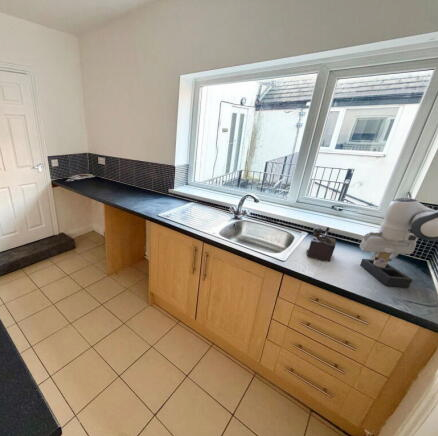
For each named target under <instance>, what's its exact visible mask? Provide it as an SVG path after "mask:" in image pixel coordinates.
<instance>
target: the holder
mask: <svg viewBox="0 0 438 436" xmlns="http://www.w3.org/2000/svg"><path fill="white" fill-rule="evenodd" d="M373 262H374V260H372V259H371V258H361V261H360V264H359V266H360V267H361V268H362V269H363V270H365V271H366V272H368V274H370V275H371V276H372V277H374V278H375V279H377V281H379V282H380V283H382V284H383V285H385V286H387V287H399V288H410V286H411V283H412V282H413V279H412V278H410V277H409V276H408V275H406V274H405V273H404V272H402V271H400V270H399V269H397V268H396V267H394V266H392V265H391V264H390V263H389V262H387V265H386V267H385V268H383V267H376V266H375V265H373Z"/></svg>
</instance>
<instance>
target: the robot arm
mask: <svg viewBox="0 0 438 436" xmlns="http://www.w3.org/2000/svg"><path fill="white" fill-rule="evenodd" d="M409 230H411V231H409ZM419 239H420V240H422V241H427V242H436V241H438V209H437V210H436V209H433V208H431V207H428V206H426V205H424V204H422V203H421V202H420V201H418V199H415V198H409V197H400V198H395V199H393V200H391V202H390V203H389V204H388V206H387V207H386V210H385V213H384V215H383V221H382V222H381V223H380V225H379V228H378V231H376V232H375V231H369V232H367V233H365V234H364V237H363V238H362V240H361V241H360V243H359V248H360V250H362V251H364V252H369V253H370V259H372V260H377V258H378V257H376V255H377V254H378V252H382V253H383V252H384V249H385V248H393V249H394V250H393V252H392V253H391V255H390V258H389V260H388V262H393V260H394V259H395V258H396V257H398V256H399V255H411V254H413V253H414V251H415V249H416V246H417V241H418V240H419Z"/></svg>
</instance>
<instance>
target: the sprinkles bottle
mask: <svg viewBox="0 0 438 436" xmlns="http://www.w3.org/2000/svg"><path fill="white" fill-rule="evenodd" d="M393 250H394V249H393V248H385V249H384V252H383V253H382V252H377V254H375V255H376V257H378V258H377V260H374V262H373V265H375V266H376V267H383V268H385V267H386V265H387V263H389V261H388V260H389V258H390V255H391V254H392V252H393Z"/></svg>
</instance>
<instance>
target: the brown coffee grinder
mask: <svg viewBox="0 0 438 436" xmlns="http://www.w3.org/2000/svg"><path fill="white" fill-rule="evenodd" d="M312 232H313V234H312V236H311V239H310V242H309V246H308V248H307V249H306V256H307V257H309V258H312V259H315V260H317V261H322V262H327V263H330V262H331V260H332V257H333V254H334V251H335V249H336V245H337V239H336V238H334V237H333V238H332V237H329V236H328V235H329V232H330V227H328V226H327V227H326V229H325V231H324V234H323V230H322V228H320V227H314V228H313V229H312Z"/></svg>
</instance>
